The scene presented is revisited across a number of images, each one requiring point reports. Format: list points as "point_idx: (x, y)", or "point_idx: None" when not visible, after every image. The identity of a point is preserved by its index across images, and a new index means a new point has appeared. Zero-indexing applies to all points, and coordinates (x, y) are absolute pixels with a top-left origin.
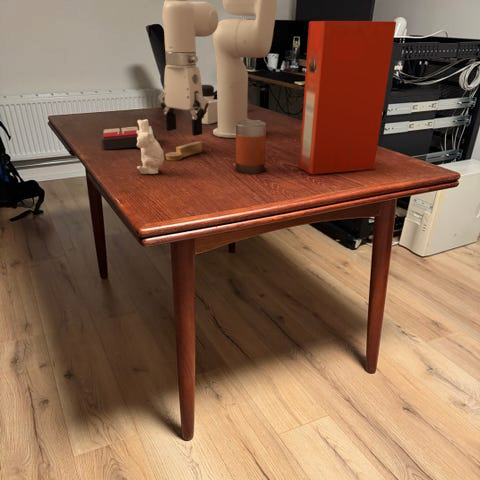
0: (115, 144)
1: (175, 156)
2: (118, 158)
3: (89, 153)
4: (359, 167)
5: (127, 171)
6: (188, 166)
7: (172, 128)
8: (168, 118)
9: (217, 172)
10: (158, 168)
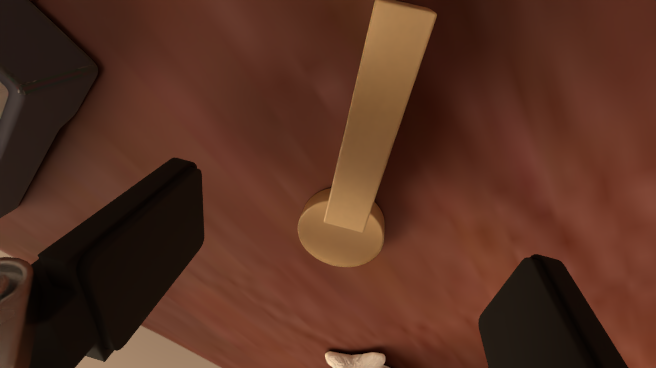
0: (9, 198)
1: (369, 260)
2: None
3: None
4: None
5: (300, 365)
6: (472, 297)
7: (196, 212)
8: (137, 320)
9: (646, 335)
10: (384, 359)
